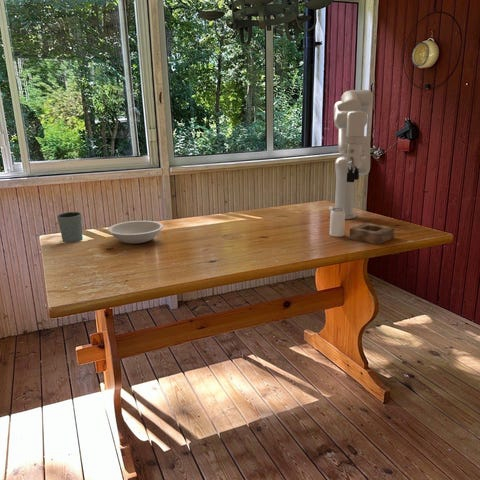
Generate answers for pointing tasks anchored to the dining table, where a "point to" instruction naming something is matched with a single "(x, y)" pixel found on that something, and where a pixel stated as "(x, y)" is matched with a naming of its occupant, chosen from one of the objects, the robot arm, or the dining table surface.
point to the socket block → (371, 233)
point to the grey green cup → (70, 226)
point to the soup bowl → (135, 231)
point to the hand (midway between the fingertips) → (352, 180)
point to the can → (337, 222)
